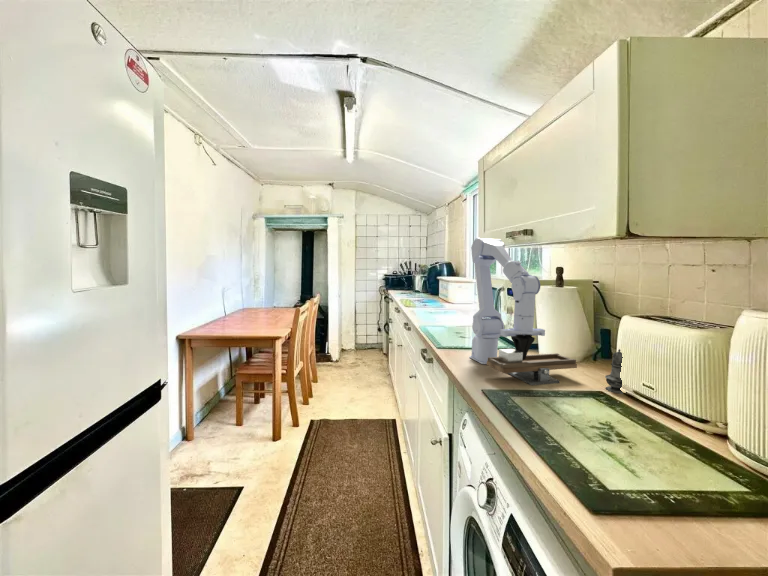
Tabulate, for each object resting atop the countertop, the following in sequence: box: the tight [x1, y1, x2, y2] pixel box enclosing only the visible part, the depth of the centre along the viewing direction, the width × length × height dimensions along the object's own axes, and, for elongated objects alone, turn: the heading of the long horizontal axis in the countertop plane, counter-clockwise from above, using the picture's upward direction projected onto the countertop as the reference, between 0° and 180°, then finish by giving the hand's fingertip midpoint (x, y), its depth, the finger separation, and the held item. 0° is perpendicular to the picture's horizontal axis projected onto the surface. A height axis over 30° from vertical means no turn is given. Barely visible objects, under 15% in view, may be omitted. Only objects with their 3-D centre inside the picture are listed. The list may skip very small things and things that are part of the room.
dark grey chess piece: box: [604, 348, 624, 395], centre depth 103 cm, size 6×6×12 cm
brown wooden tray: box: [486, 353, 578, 374], centre depth 113 cm, size 9×26×2 cm, turn 106°
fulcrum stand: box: [507, 368, 560, 386], centre depth 113 cm, size 14×10×4 cm
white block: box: [498, 348, 523, 363], centre depth 111 cm, size 5×5×4 cm
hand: (521, 359), depth 112 cm, fingers closed
